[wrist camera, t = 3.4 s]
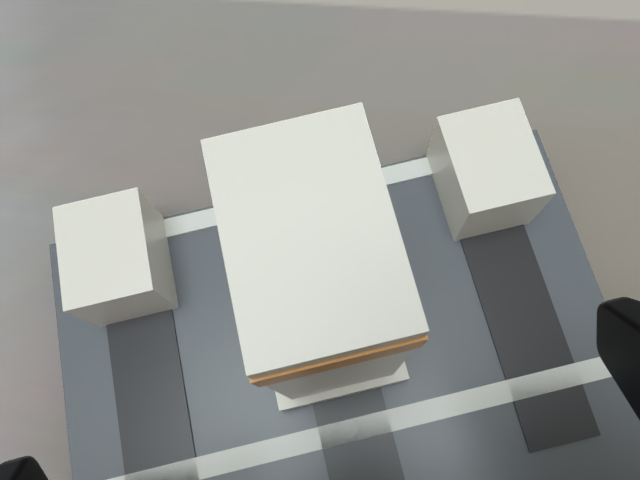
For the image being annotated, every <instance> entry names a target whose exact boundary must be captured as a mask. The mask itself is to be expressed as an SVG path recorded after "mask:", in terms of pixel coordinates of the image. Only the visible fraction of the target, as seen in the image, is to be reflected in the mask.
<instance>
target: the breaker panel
mask: <svg viewBox="0 0 640 480" xmlns="http://www.w3.org/2000/svg"><path fill="white" fill-rule="evenodd" d="M381 169H382V172H383V175H384V179H385V182H386V185H387V189H388V192H389V196H390V199H391V202H392V206H393V209H394V213H395V216H396V219H397V223H398V226H399V229H400V233H401V236H402V240H403V243H404V246H405V250H406V253H407V257H408V260H409V263H410V267H411V270H412V274H413V277H414V280H415V284H416V287H417V290H418V294H419V297H420V301H421V304H422V307H423V311H424V314H425V318H426V321H427V324H428V328H429V332H428V334H427V336H428V340H427V342H426V343H425V344H424V345H423V346H422V347H421V348H417V349H414V350H413V352H412V353H411V354H410V355H409V356H408V358H407V359H406V360H405V364H406V367H407V371H408V375H409V378H410V379H408V380H407V381H404V382H400V383H396V384H392V385H388V386H384V387H380V388H376V389H372V390H368V391H364V392H360V393H356V394H352V395H348V396H344V397H340V398H336V399H332V400H328V401H323V402H319V403H315V404H311V405H307V406H303V407H299V408H295V409H291V410H287V411H283V412H281V411H279V408H278V403H277V399H276V394H275V391H274V390H272V389H270V388H268V387H266V386H263V387H257V386H255V385H253V384H251V383H250V381H249V377H247V376H246V372H245V367H244V362H243V357H242V352H241V346H240V341H239V336H238V331H237V326H236V321H235V315H234V310H233V305H232V300H231V295H230V290H229V284H228V279H227V274H226V269H225V264H224V259H223V253H222V248H221V243H220V238H219V233H218V228H217V222H216V217H215V212H214V207H213V206H212V207H207V208H203V209H199V210H195V211H191V212H186V213H182V214H178V215H174V216H169V217H165V218H164V217H163V216H162V215H161V214H160V213H159V211H158V210H157V209H156V208H155V207H154V206H153V205H152V203H151V202H150V201H149V200H148V199H147V198H146V197H145V195H144V194H143V193H142V192H141V191H140V190H139V189H138V187H136V188H132V189H128V190H124V191H119V192H115V193H111V194H107V195H102V196H98V197H94V198H90V199H85V200H81V201H77V202H73V203H68V204H64V205H60V206H56V207H52V209H53V219H54V229H55V239H56V243H55V244H51V245H49V247H50V257H51V267H52V277H53V287H54V297H55V308H56V318H57V328H58V338H59V348H60V358H61V368H62V379H63V389H64V399H65V409H66V419H67V429H68V440H69V450H70V460H71V470H72V480H640V420H639V419H638V417H637V416H636V414H635V412H634V411H633V409H632V408H631V406H630V405H629V403H628V401H627V400H626V398H625V397H624V395H623V393H622V392H621V390H620V389H619V387H618V385H617V384H616V382H615V381H614V379H613V377H612V376H611V374H610V373H609V371H608V369H607V368H606V366H605V365H604V363H603V361H602V360H601V358H600V356H599V353H598V350H597V345H596V323H597V308H598V306H599V304H601V303H602V302H604V300H603V297H602V295H601V292H600V290H599V287H598V285H597V282H596V280H595V277H594V275H593V272H592V269H591V267H590V264H589V262H588V259H587V257H586V254H585V252H584V249H583V247H582V244H581V242H580V239H579V236H578V234H577V231H576V229H575V226H574V224H573V221H572V219H571V216H570V214H569V211H568V209H567V206H566V203H565V201H564V198H563V196H562V193H561V191H560V188H559V186H558V183H557V181H556V178H555V176H554V173H553V170H552V168H551V165H550V163H549V160H548V158H547V155H546V153H545V150H544V148H543V145H542V143H541V140H540V137H539V135H538V132H537V130H531V127H530V125H529V122H528V120H527V117H526V115H525V112H524V109H523V107H522V104H521V102H520V99H519V98H515V99H511V100H506V101H502V102H498V103H494V104H489V105H485V106H481V107H477V108H472V109H468V110H464V111H460V112H455V113H451V114H447V115H443V116H438V117H437V118H436V122H435V125H434V129H433V132H432V136H431V139H430V143H429V146H428V150H427V153H426V156H423V157H418V158H414V159H410V160H406V161H402V162H397V163H393V164H389V165H385V166H381Z"/></svg>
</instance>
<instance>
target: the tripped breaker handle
mask: <svg viewBox="0 0 640 480" xmlns="http://www.w3.org/2000/svg"><path fill="white" fill-rule="evenodd" d="M201 145H202V150H203V155H204V160H205V166H206V171H207V176H208V181H209V186H210V191H211V197H212V202H213V207H214V212H215V217H216V222H217V228H218V233H219V238H220V243H221V248H222V253H223V259H224V264H225V269H226V274H227V279H228V284H229V290H230V295H231V300H232V305H233V310H234V315H235V321H236V326H237V331H238V336H239V341H240V346H241V352H242V357H243V362H244V367H245V372H246V376H247V377H249V381H250V383H251V384H253V385H255V386H257V387H263V386H266V387H268V388H270V389H272V390H274V391H275V394H276V399H277V403H278V408H279V411H281V412H283V411H287V410H291V409H295V408H299V407H303V406H307V405H311V404H315V403H319V402H323V401H328V400H332V399H336V398H340V397H344V396H348V395H352V394H356V393H360V392H364V391H368V390H372V389H376V388H380V387H384V386H388V385H392V384H396V383H400V382H404V381H407V380H408V379H410V378H409V375H408V371H407V367H406V364H405V360H406V359H407V358H408V356H409V355H410V354H411V353H412V352H413V350H414V349H417V348H421V347H422V346H423V345H424V344H425V343H426V342H427V340H428V336H427V334H428V332H429V328H428V324H427V321H426V318H425V314H424V311H423V307H422V304H421V301H420V297H419V294H418V290H417V287H416V284H415V280H414V277H413V274H412V270H411V267H410V263H409V260H408V257H407V253H406V250H405V246H404V243H403V240H402V236H401V233H400V229H399V226H398V223H397V219H396V216H395V213H394V209H393V206H392V202H391V199H390V196H389V192H388V189H387V185H386V182H385V179H384V175H383V172H382V169H381V165H380V162H379V158H378V155H377V152H376V148H375V145H374V141H373V138H372V135H371V131H370V128H369V125H368V121H367V118H366V114H365V111H364V108H363V104H362V102H360V103H356V104H352V105H348V106H343V107H339V108H335V109H331V110H326V111H322V112H318V113H313V114H309V115H305V116H301V117H296V118H292V119H288V120H283V121H279V122H275V123H271V124H266V125H262V126H258V127H253V128H249V129H245V130H241V131H236V132H232V133H228V134H223V135H219V136H215V137H211V138H206V139H202V140H201Z"/></svg>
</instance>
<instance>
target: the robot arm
mask: <svg viewBox="0 0 640 480" xmlns="http://www.w3.org/2000/svg"><path fill="white" fill-rule="evenodd" d="M596 345H597V350H598V353H599V356H600V358H601V360H602V361H603V363H604V365H605V366H606V368H607V369H608V371H609V373H610V374H611V376H612V377H613V379H614V381H615V382H616V384H617V385H618V387H619V389H620V390H621V392H622V393H623V395H624V397H625V398H626V400H627V401H628V403H629V405H630V406H631V408H632V409H633V411H634V412H635V414H636V416H637V417H638V419H639V420H640V301H637V300H634V299H631V298H627V297H620V298H616V299H612V300H609V301H605V302H602V303H601V304H599V306H598V308H597V323H596ZM0 480H48V478H47V477H46V475H45V474H44V472H43V470H42V469H41V467H40V465H39V464H38V462H37V461H36V460H35V459H34V458H33V457H31V456H24V457H20V458H16V459H13V460H9V461H6V462H3V463H2V464H0Z"/></svg>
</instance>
